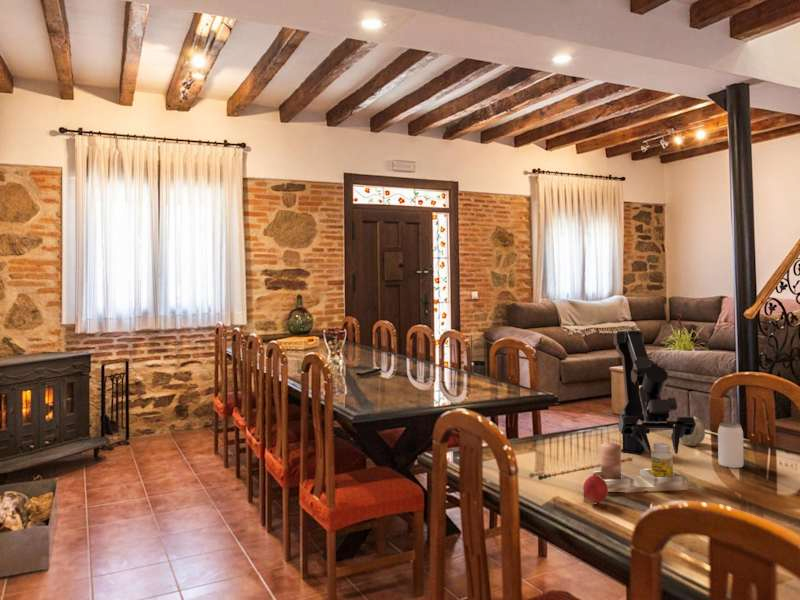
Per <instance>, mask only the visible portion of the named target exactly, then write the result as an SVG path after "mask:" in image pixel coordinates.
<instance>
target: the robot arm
mask: <svg viewBox="0 0 800 600" xmlns="http://www.w3.org/2000/svg"><path fill="white" fill-rule="evenodd" d="M613 345H614V346H615V351H616V353H617V354H618V355H619V356H620V357H621V359H622V360H621V361H622V372H623V375H622V376H623V383H624V384H623V385H624V395H625V396H624V397H625V403H624V405H623V407H622V408H621V414H620V416H619V419H618V431H619V432H620V434H621V435H622V439H621V440H622V448H621V453H623V452H624V453H629V454H636V455H642V454H644V453H646V452H647V453H648V454H650V455H651V453H652V447H651V445H650V441H649V438H648V434H650V433H651V432H650V431H651V430H653V429H654V430H655V429H656V430H660V429H661V430H665V429H666V430H672V433H671V435H670V437H671V443H672V446H673V452H674V453H675V455H677V454H678V452H679V446H680V445H679V444H680V440H681V439H680V438H681V437H683V435H691V434H692V433H693V431H694V428H695V426H696V422H695V419H694V418H693V417H694V416H690V415H683V416H681V415H678V416H677V418H676V421H672V420H671V421H669V420H668V419H670V413H671V411H676V410H677V409H678V402H677V399H676V397H668V398H667V399H663V397H662V393H663V392H664V390H665V388H666V387H665V386H666V383H667V380H668V376H669V375H668V372H667V371H666V370H665V368H663V367H660V366H659V364H658V363H656V362H654V361H653V360H651V359H650V357H649V354H648V352H647V349H646V346H645V344H644V334H643V332H642V331H641V330H639V329H638V330H635V329H634V330H633V329H631V330H629V329H628V330H618V331H617V332H616V333H614V334H613ZM650 429H651V430H650Z"/></svg>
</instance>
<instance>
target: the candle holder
mask: <svg viewBox="0 0 800 600" xmlns="http://www.w3.org/2000/svg"><path fill="white" fill-rule="evenodd" d="M621 449H622V447H621V445H620V444H619V443H613V442H606V443H605V442H604V443H601V444H600V470H590V471H589V477H590V476H592V475H593V474H594V473H597V474H598V476H599V477H601V478H602V479H603V480H604V481H605V483H606V485H607V488H608V492H624V491H626V492H625V493H645V492H644V491H648V492H665V491H669V490H670V491H685V490H686V491H687V490H689V484H688V483H687V477H686V476H685V475H683V474H681V473H680V472H678V471H676V470H674V469H673V477H655V476H653V475H652V474H651V468H639V475H635V476H633V475H632V476H630V475H628V474H627V473H625V472H624V471H622V461H621V460H622V459H621V456H622V455H621V454H622V451H621ZM670 491H669V492H670Z"/></svg>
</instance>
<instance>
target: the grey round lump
mask: <svg viewBox="0 0 800 600" xmlns="http://www.w3.org/2000/svg"><path fill="white" fill-rule="evenodd" d="M692 417H693V418H694V419H695V422H696V426H695V428H694V431H693V433H692V434H691V435H683V437H681V438H680V439H679V440H680V441H679V444H681V445H683V446H687V447H691V446H698V445H699V444H700V443H702V442H703V441H704V439H705V437H706V431H705V429H706V428H705V426H704V425H703V423H702V422H701V420H700V419H699V418H698V417H697V416H692Z"/></svg>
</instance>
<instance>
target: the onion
mask: <svg viewBox="0 0 800 600" xmlns="http://www.w3.org/2000/svg"><path fill="white" fill-rule="evenodd" d="M582 486H583V487H582V488H583V489H582V490H583V494H584V496H585V497H586V499H587V500H589V501H590V502H591V503H592V502H593V503H599V504H600V503H602V502H603V501H604V500H605V499H606V498H607V496H608V494H609V493H608V488H607V485H606V483H605V481H604V480H603V479H602V478H601V477H599V476H598V474H597V473H594V474H593V475H592V476H590V475H589V477H587V478H586V480H585V481H584V483H583V485H582ZM593 503H592V504H593Z"/></svg>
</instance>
